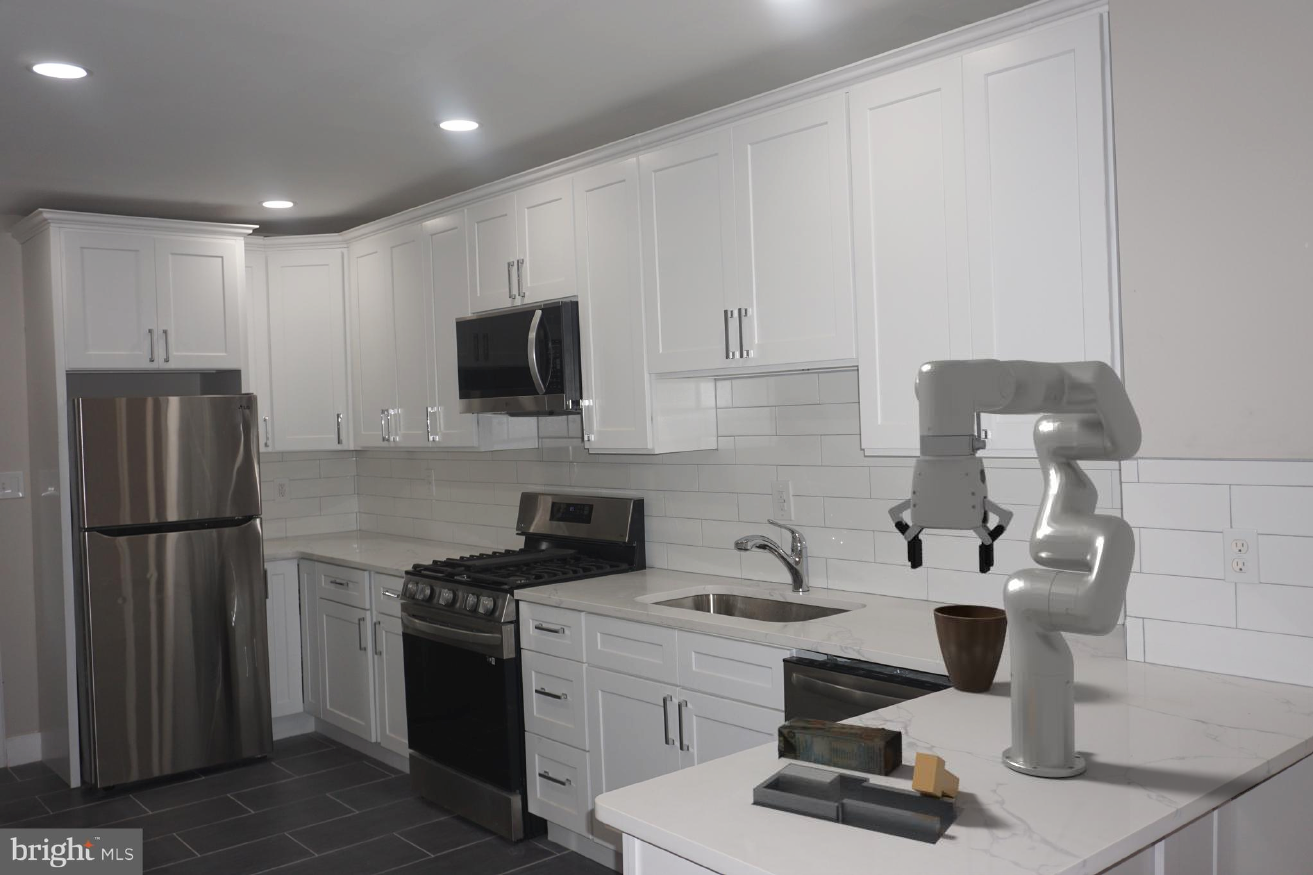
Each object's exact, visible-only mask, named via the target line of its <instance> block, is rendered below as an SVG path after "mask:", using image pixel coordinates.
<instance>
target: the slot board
mask: <svg viewBox="0 0 1313 875" xmlns="http://www.w3.org/2000/svg"><path fill="white" fill-rule="evenodd" d="M790 764H793V765H798V766H804V767H809V768H814V769H818V770H824V771H829V772H834V773H840V798H839V799H837V800H836V801H835V802H834V803H833V802H829V801H824V800H819V799H814V798H809V797H804V796H800V795H795V794H790V793H785V792H780V791H779V772H780V771H781V770H783V769H784V768H786V767H787V766H789V765H790ZM752 796H753V797H752V798H753V799H752V800H753V801H752V803H751V805H754V806H756V807H762V808H766V809H770V810H774V811H780V812H784V813H788V814H795V815H798V816H802V817H803V816H804V817H807V818H812V819H816V820H819V821H820V820H821V821H824V822H830V823H835V824H839V825H844V826H848V827H852V828H857V829H862V830H867V831H871V832H876V833H880V834H884V835H890V836H895V837H898V838H904V839H908V840H912V841H916V842H922V843H926V844H931V845H935V844H936V843H937V842H938V841H939V840H940V839H941V837H942V836H943V835H944V834H945V833H946V831H948V830H949V828H950V827H951V826H952V825H953V824H954V822H955V821H956V820H957V819H958V818H959V817H960V815H961V814H962V813H963V812H964V811H965V809H966V807H962V806H957V799H956V798H954V797H949V796H943V795H941V797H937V796H931V795H926V794H921V793H919V792H917V791H915V790H912V789H905V788H900V787H894V786H890V785H884V784H880V783H879V784H878V783H874V782H873V783H872V782H870V777H865V776H862V775H856V774H850V773H846V772H839V771H834V770H828V769H824V768H818V767H813V766H808V765H802V764H797V763H792V762H789V763H788V764H786V765H785V766H784V767H782V768H781V769H779V770H778V771H777V772H775V773H774V774H772V775H771V776H769V777H768V778H767V779H765V780H763V781H762V782H760V783H759V784H758V785H756V786H754V788H752Z"/></svg>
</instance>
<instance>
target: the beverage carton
mask: <svg viewBox="0 0 1313 875" xmlns="http://www.w3.org/2000/svg"><path fill="white" fill-rule="evenodd" d="M777 754H778V756H777V757H778V758H777V759H778V760H780V759H782V758H784V759H789V760H794V761H800V762H805V763H806V762H807V763H811V764H816V765H821V766H826V767H829V768H830V767H832V768H837V769H841V770H846V771H847V770H848V771H851V772H858V773H864V774H869V775H873V776H874V775H875V776H881V777H888V776H889V775H890V774H892V773H893V772H894V771H896V770H897V769H898V768H900V767H901V765H903V732H902V731H901V730H892V729H889V728H885V727H872V726H865V725H858V724H857V725H855V724H848V723H847V724H846V723H840V722H834V721H828V720H819V719H814V718H813V719H812V718H807V717H801V716H796V717H794V718H792V719H790V720H787V721H785V723H784V724H781V725H780V726H778V727H777Z"/></svg>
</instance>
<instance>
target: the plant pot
mask: <svg viewBox="0 0 1313 875" xmlns="http://www.w3.org/2000/svg"><path fill="white" fill-rule="evenodd" d="M932 611H933V619H934V625H935V631H936V635H937V639H938V644H939V648H940V652H941V656H942V660H943V663H944V665H945V668H946V671H947V674H948V678H949V680H950V683H951V684H952V687H953V689H955V690H958V691H960V692H969V693H984V692H988V691H989V690H991V688H992V686H993V683H994V680H995V679H996V678H995V677H996V674H997V672H998V668H999V666H1000V661H1001V658H1002V655H1003V650H1004V646H1005V640H1006V636H1007V630H1008V629H1007V628H1008V622H1007V617H1006V612H1005V609H1003V608H999V607H994V606H993V607H992V606H986V605H977V604H976V605H975V604H950V605H949V604H948V605H942V606H938V607H935V608H934V609H933V610H932Z"/></svg>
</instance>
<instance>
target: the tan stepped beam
mask: <svg viewBox="0 0 1313 875" xmlns="http://www.w3.org/2000/svg"><path fill="white" fill-rule="evenodd" d="M915 754H916V755H915V762H914V770H913V777H912V782H911V783H912V784H911V790H912V791H916V792H919V793H921V794H926V795H931V796H937V797H941V796H942V797H948V798H955V797H956V796H957V795H958V794H959V786H960V785H959V784H960V777H958V776H957V775H955V774H953V773H952V772H950V771H949V770H948V769H946V768H945V767H946V760H944V759H943V758H941V757H940V756H939V755H937V754H930V753H923V752H916V753H915Z"/></svg>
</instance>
